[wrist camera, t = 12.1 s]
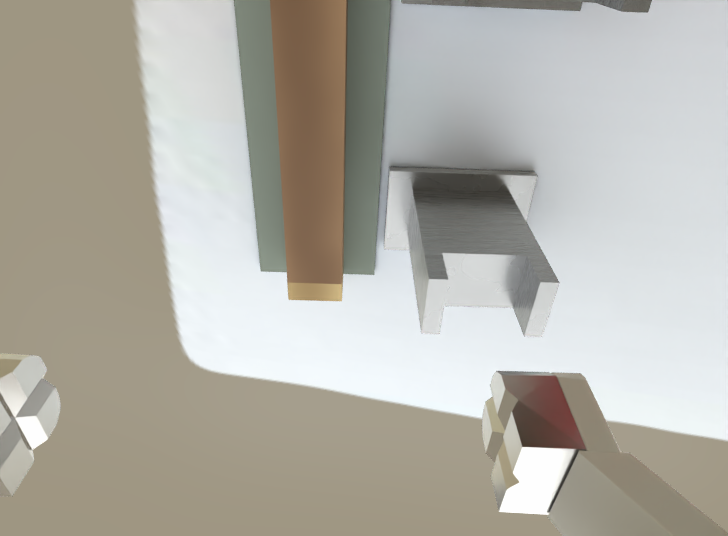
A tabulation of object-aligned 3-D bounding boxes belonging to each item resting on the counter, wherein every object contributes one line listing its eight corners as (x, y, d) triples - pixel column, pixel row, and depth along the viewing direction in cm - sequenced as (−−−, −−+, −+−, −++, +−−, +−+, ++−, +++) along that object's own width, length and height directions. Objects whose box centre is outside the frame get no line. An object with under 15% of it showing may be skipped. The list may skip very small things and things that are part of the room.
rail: (351, -202, 18) (349, -221, 16) (343, 270, 31) (341, 301, 28) (270, -206, 18) (255, -226, 16) (294, 269, 31) (288, 299, 28)
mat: (402, -210, 19) (403, -213, 18) (374, 271, 31) (374, 274, 31) (214, -220, 18) (211, -223, 18) (262, 267, 31) (260, 271, 31)
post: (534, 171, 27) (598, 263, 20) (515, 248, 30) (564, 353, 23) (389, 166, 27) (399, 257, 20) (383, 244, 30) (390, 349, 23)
